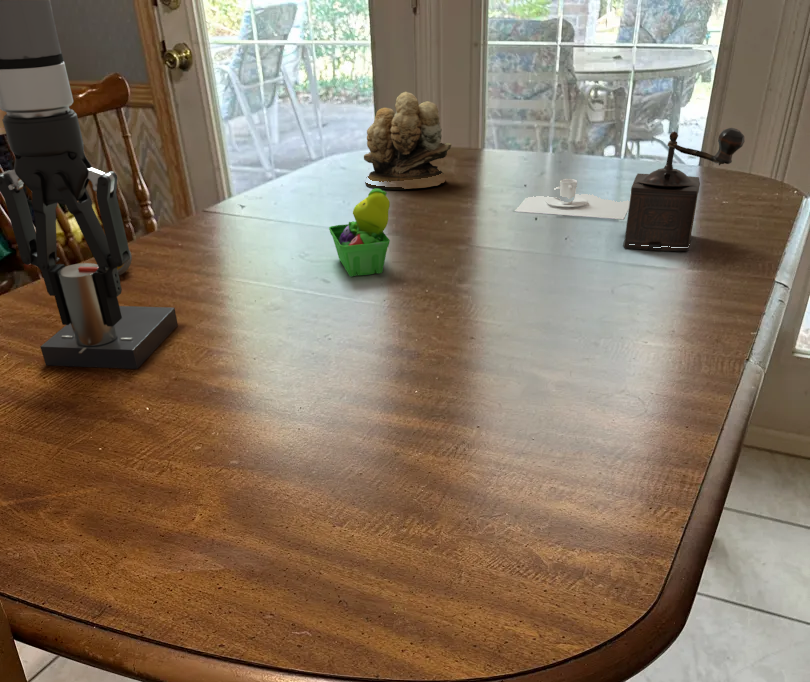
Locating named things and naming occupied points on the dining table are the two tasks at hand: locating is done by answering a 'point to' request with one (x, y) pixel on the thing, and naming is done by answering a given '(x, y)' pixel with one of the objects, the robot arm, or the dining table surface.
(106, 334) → the shiny metal cylinder
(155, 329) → the dial base
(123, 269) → the yellow ridged cone
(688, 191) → the manual coffee grinder
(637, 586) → the dining table surface
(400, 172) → the owl figurine
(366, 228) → the fruit basket
